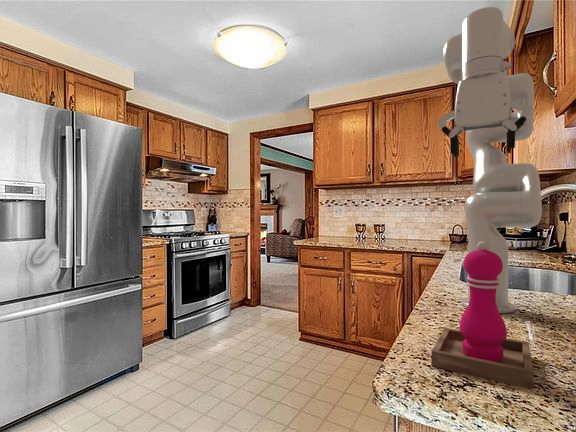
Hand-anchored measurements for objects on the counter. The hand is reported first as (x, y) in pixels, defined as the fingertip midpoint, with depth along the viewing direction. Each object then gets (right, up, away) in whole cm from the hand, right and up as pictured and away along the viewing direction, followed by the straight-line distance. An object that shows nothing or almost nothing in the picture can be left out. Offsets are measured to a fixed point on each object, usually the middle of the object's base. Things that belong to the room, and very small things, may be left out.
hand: (481, 154), depth 71 cm
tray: (-7, -38, -12) cm, 41 cm away
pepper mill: (-7, -38, -12) cm, 40 cm away
